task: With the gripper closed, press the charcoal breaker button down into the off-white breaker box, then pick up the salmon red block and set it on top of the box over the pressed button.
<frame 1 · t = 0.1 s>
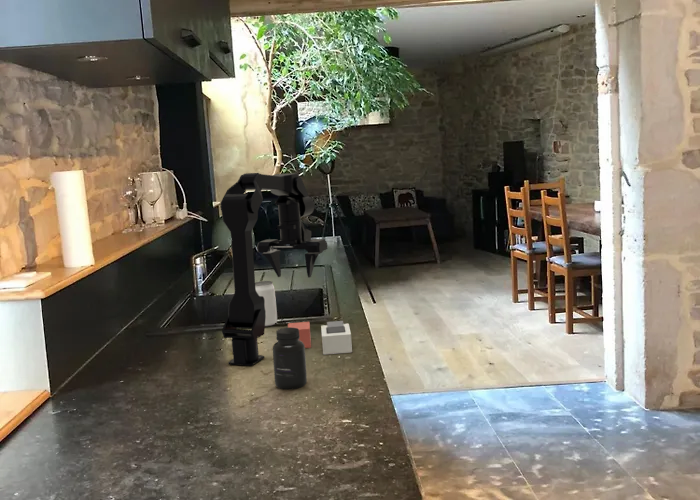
hand: (294, 277, 188), 15 cm above the worktop, fingers open, 9 cm apart
salmon red block: (300, 345, 176), on the worktop
breaker box: (336, 347, 171), on the worktop
breaker button: (335, 329, 170), point 4 cm above the worktop, slide at 0.0 cm
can: (266, 324, 199), on the worktop
supplement bottle: (291, 385, 147), on the worktop
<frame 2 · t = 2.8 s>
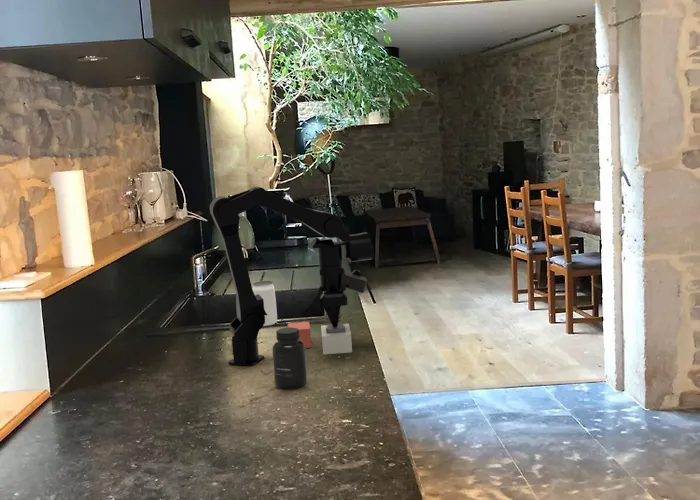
hand: (335, 326, 170), 5 cm above the worktop, fingers closed, pressing on breaker button
breaker button: (335, 332, 171), point 4 cm above the worktop, slide at 0.6 cm, touching gripper
everything else where it was.
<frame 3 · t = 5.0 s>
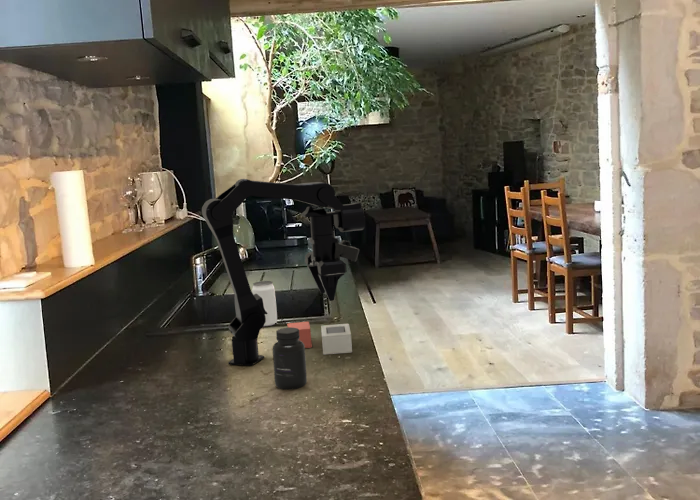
hand: (327, 296, 170), 13 cm above the worktop, fingers open, 9 cm apart
breaker button: (336, 335, 171), point 3 cm above the worktop, slide at 1.6 cm
everything else where it was.
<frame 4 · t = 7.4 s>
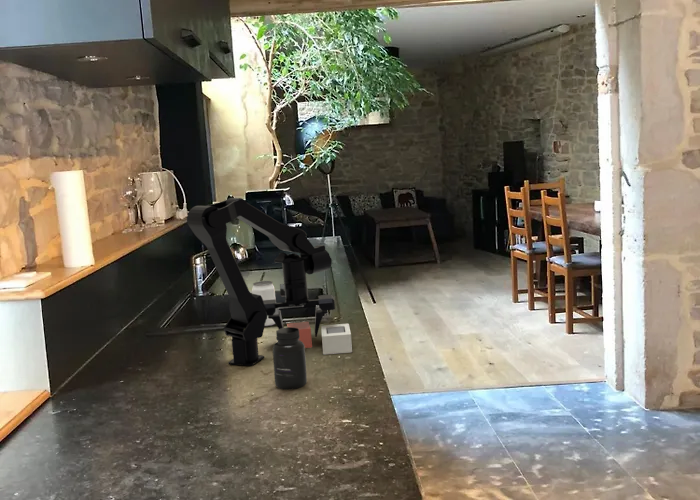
hand: (300, 337, 176), 2 cm above the worktop, fingers open, 8 cm apart
nothing on the worktop moved.
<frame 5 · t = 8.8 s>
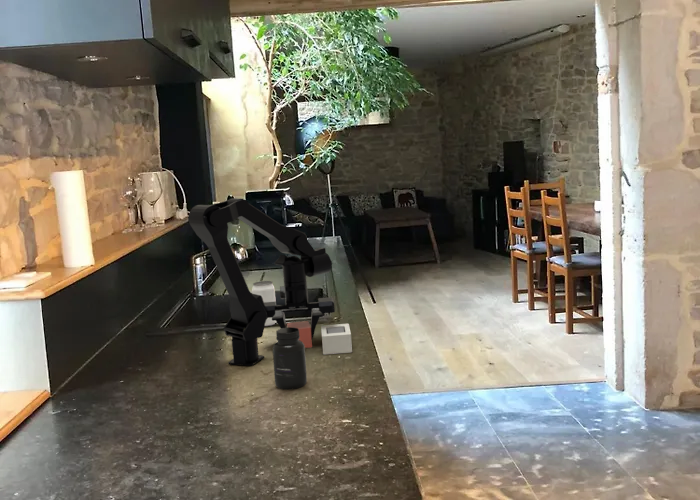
hand: (299, 340, 176), 1 cm above the worktop, fingers closed on salmon red block, 6 cm apart
salmon red block: (300, 344, 176), on the worktop, touching gripper
everything else where it was.
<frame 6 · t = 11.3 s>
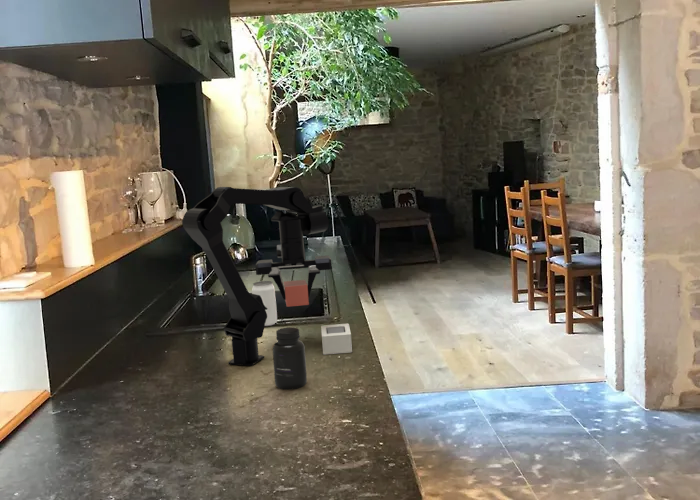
hand: (296, 298, 174), 12 cm above the worktop, fingers closed on salmon red block, 6 cm apart
salmon red block: (296, 302, 174), point 11 cm above the worktop, touching gripper
everything else where it was.
when the fingers open (7 cm above the worktop, at t = 14.0 s): salmon red block drops 2 cm, resting on breaker box.
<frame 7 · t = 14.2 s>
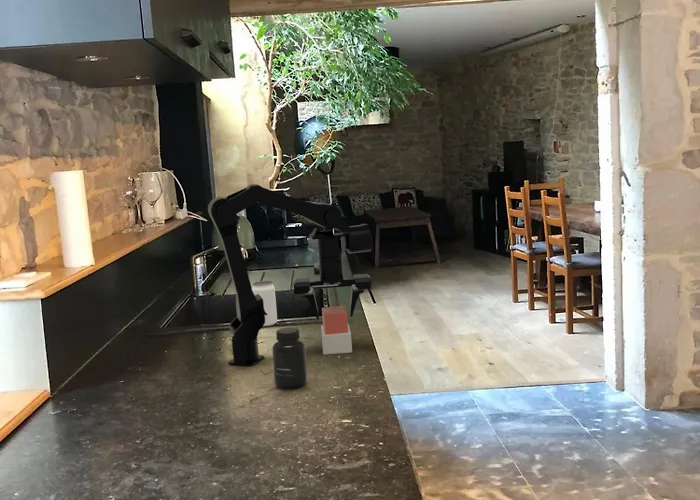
hand: (334, 318, 170), 7 cm above the worktop, fingers open, 8 cm apart
salmon red block: (335, 329, 171), point 4 cm above the worktop, touching breaker box
everything else where it was.
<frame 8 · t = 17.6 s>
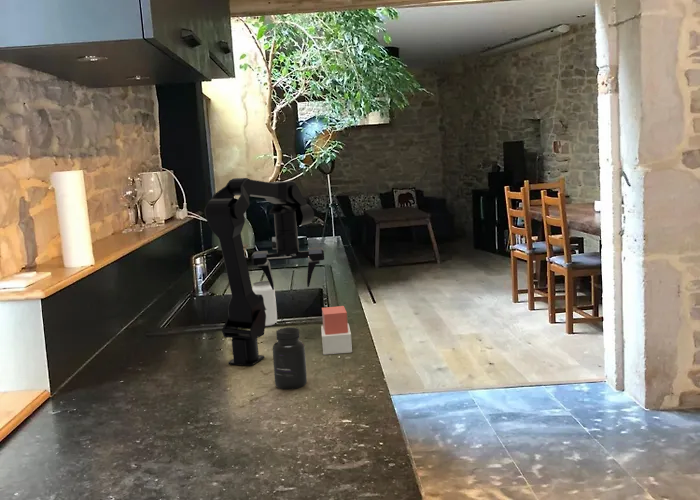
hand: (290, 288, 182), 13 cm above the worktop, fingers open, 9 cm apart
nothing on the worktop moved.
at the end: breaker button slide at 1.6 cm; salmon red block 0.1 cm off-centre on the breaker box, point 4.5 cm above the breaker box's base; salmon red block tilted 0° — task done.
